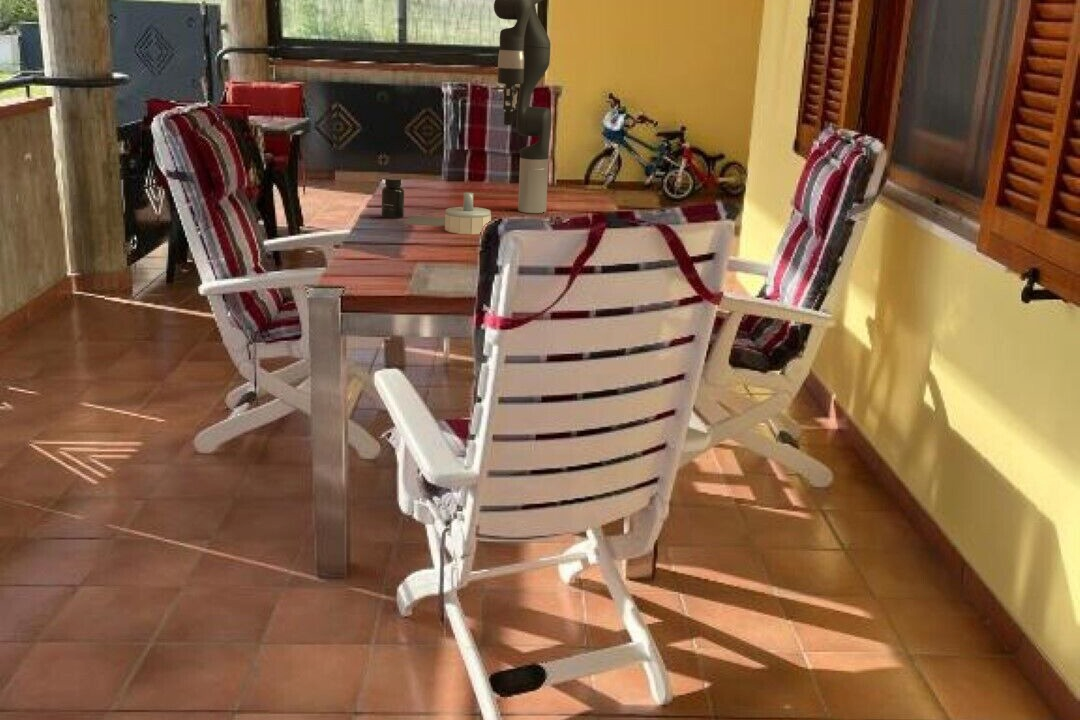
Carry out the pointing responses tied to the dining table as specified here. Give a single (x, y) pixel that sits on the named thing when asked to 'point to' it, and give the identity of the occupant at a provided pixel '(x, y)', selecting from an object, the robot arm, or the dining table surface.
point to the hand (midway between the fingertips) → (509, 123)
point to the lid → (468, 209)
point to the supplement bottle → (392, 199)
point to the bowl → (465, 224)
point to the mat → (425, 221)
